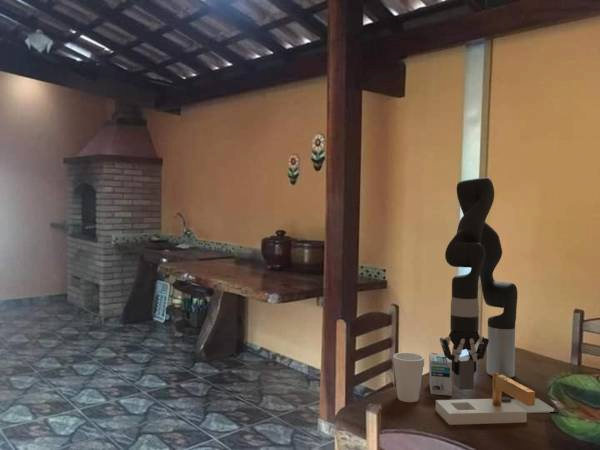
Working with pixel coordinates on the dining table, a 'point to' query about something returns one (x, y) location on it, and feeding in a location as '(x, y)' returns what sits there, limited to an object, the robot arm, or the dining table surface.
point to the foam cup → (408, 375)
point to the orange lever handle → (511, 390)
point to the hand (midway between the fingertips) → (463, 373)
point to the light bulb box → (440, 374)
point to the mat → (538, 408)
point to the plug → (465, 374)
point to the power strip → (480, 411)
